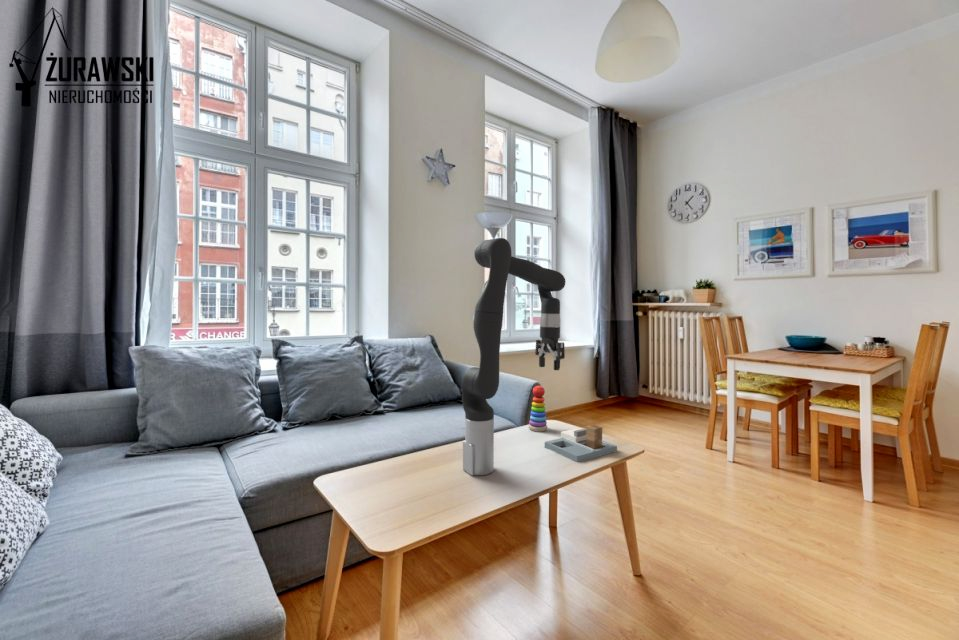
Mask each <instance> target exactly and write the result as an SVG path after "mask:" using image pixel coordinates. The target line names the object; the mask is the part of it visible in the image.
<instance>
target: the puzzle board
mask: <svg viewBox="0 0 959 640" xmlns="http://www.w3.org/2000/svg"><path fill="white" fill-rule="evenodd" d="M544 448H545V449H548V450H550V451H552V452H554V453H556V454H559V455H561V456H563V457H565V458H567V459H569V460H572V461H574V462H577V463H579V462H583V461H586V460H590V459H593V458H597V457H601V456H604V455H607V454H608V455H609V454H612V453H615V452H617V451H618V446H617V445H615V444H613V443H611V442H607V441H605V440H603V439H602V448H599V449H595V450H594V449H592V448H589V447H587V446H586V440H584V441H579V442H574V441H572V440H569V439H567V438H563V437H560V438H557V439H551V440H547V441H544Z"/></svg>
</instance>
